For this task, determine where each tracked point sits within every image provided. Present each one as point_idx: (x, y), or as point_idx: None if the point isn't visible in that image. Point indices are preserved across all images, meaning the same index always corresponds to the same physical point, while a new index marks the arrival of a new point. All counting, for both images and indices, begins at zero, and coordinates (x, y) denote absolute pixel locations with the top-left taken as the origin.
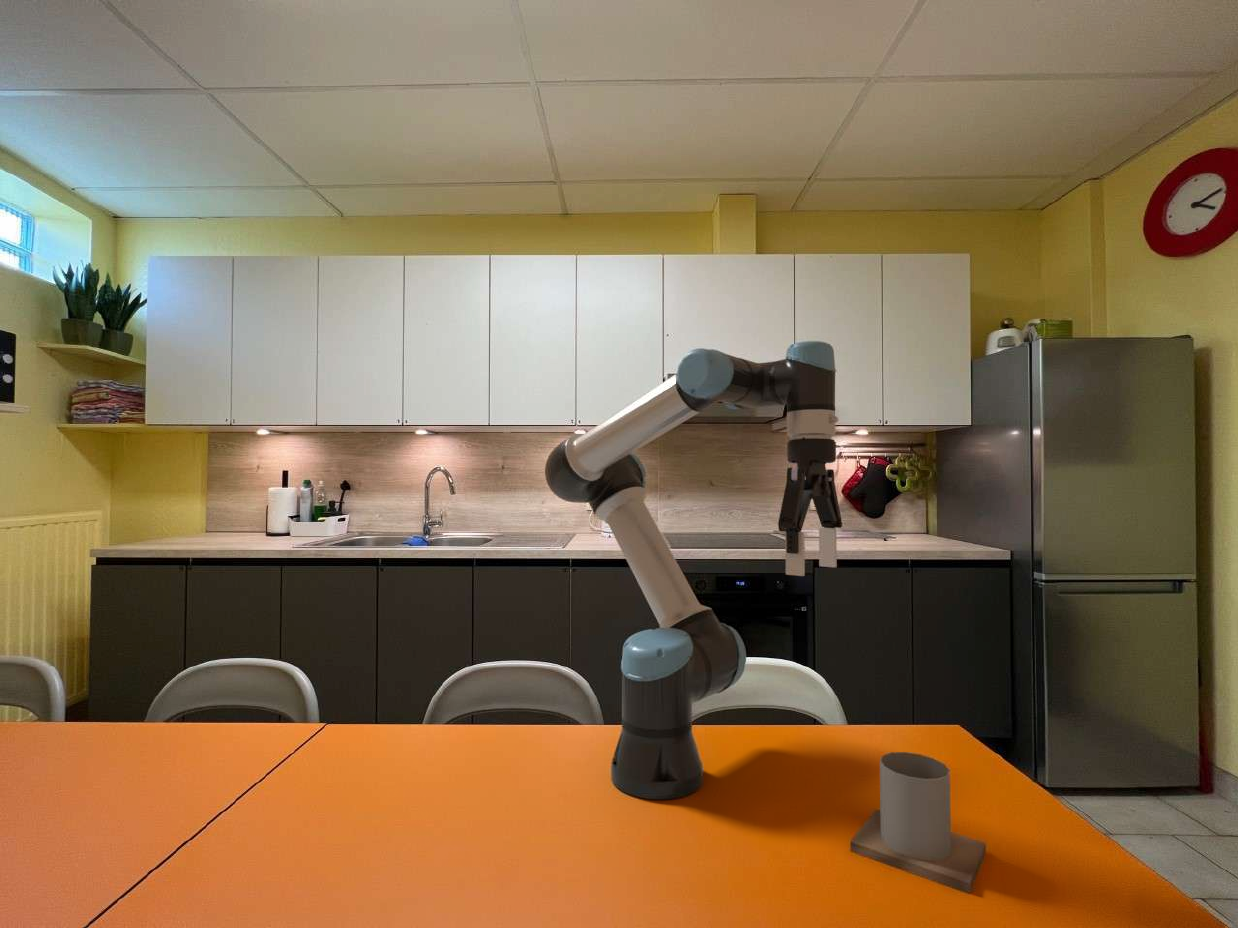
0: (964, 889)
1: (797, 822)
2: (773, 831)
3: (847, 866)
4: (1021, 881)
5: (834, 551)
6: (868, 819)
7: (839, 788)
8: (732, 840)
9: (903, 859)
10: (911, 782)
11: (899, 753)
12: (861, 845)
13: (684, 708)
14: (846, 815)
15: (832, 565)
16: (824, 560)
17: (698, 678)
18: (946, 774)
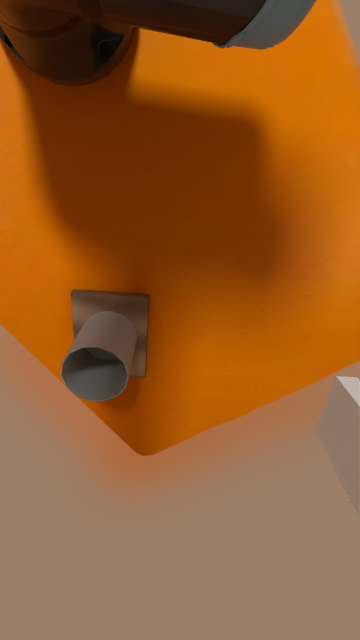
0: None
1: (88, 232)
2: (53, 217)
3: (48, 292)
4: None
5: (350, 497)
6: (122, 296)
7: (191, 248)
8: (6, 185)
9: (75, 332)
10: (63, 374)
11: (119, 357)
12: (72, 301)
13: (8, 15)
14: (135, 270)
15: (320, 431)
16: (342, 417)
17: (42, 2)
18: (112, 393)
